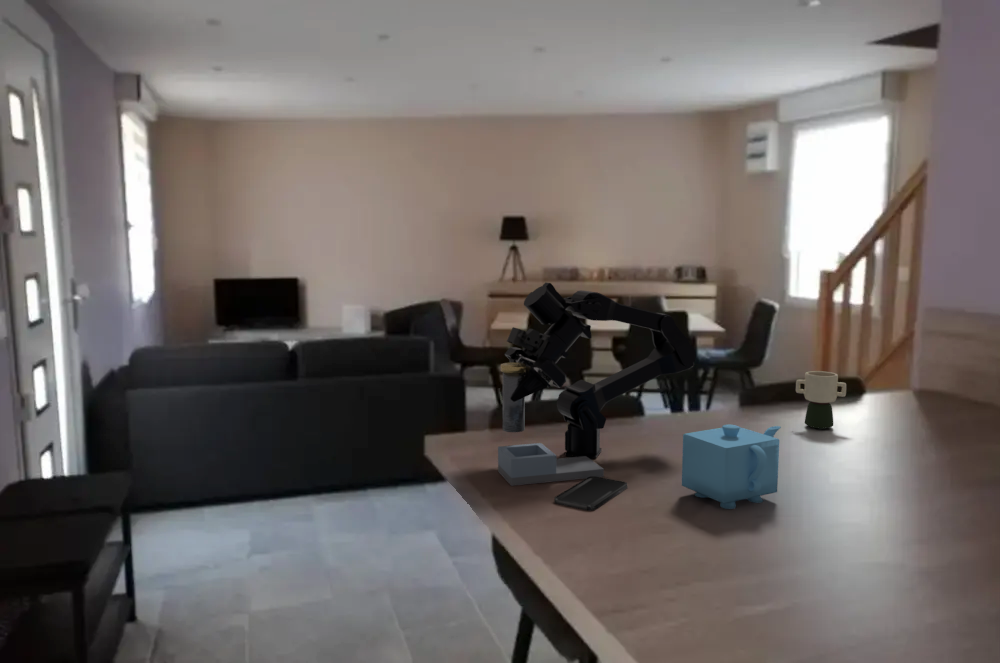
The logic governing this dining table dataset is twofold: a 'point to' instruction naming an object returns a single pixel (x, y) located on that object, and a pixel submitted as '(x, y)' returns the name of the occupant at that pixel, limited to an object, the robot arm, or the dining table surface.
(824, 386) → the trophy cup
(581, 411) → the robot arm
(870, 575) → the dining table surface
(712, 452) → the teapot
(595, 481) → the phone
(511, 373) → the pin
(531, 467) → the hitch socket
